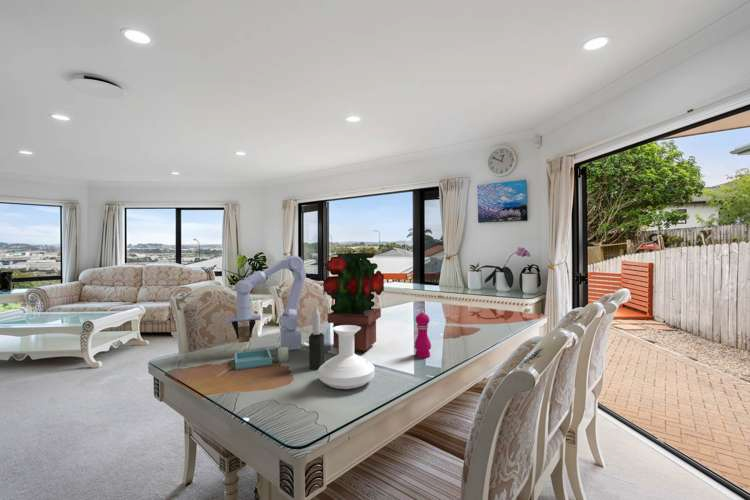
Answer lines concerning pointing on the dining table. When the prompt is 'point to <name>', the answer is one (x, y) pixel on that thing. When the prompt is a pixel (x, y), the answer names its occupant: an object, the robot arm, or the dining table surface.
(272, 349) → the slate block
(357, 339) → the potted plant
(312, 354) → the candle
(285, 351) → the sage cylinder
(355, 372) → the white vase
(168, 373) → the dining table surface
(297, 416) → the dining table surface
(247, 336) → the walnut block
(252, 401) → the dining table surface
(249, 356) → the tray
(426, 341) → the pepper mill
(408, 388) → the dining table surface
